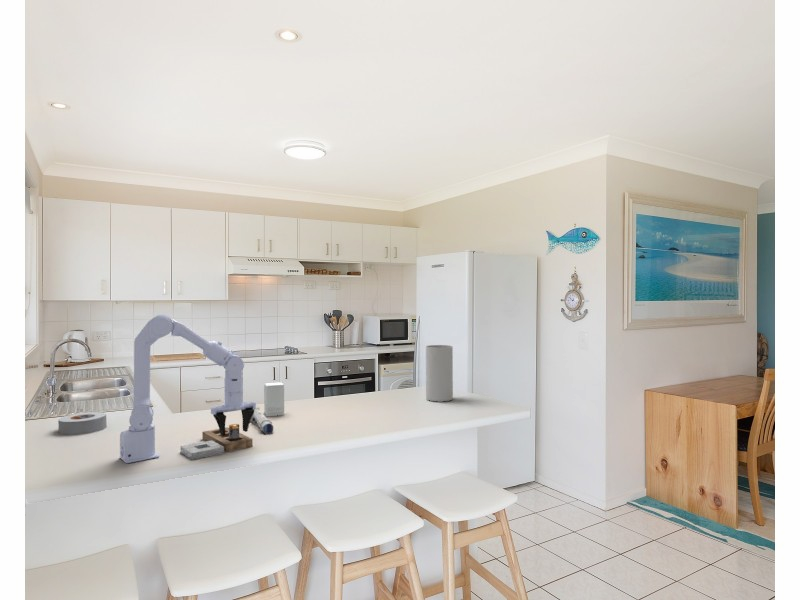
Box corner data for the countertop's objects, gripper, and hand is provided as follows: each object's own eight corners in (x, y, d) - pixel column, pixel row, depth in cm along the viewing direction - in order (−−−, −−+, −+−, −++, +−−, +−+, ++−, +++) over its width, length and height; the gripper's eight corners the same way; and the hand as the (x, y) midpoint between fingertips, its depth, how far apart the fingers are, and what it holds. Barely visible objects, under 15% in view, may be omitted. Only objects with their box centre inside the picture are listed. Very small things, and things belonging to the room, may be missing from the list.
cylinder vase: (439, 403, 240) (439, 348, 239) (420, 399, 249) (420, 346, 249) (458, 399, 248) (458, 346, 248) (438, 395, 257) (438, 344, 257)
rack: (225, 451, 168) (225, 443, 168) (202, 438, 183) (202, 431, 183) (252, 446, 174) (252, 438, 174) (227, 434, 189) (227, 427, 189)
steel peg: (231, 448, 171) (231, 426, 171) (227, 446, 174) (227, 425, 174) (241, 446, 174) (240, 425, 173) (236, 444, 176) (236, 423, 176)
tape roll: (50, 436, 188) (50, 422, 188) (68, 426, 203) (68, 412, 203) (98, 434, 191) (97, 420, 191) (112, 424, 206) (112, 411, 206)
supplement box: (284, 415, 218) (284, 384, 218) (266, 416, 216) (266, 385, 215) (281, 411, 225) (281, 381, 225) (263, 413, 222) (263, 383, 222)
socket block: (191, 459, 160) (191, 453, 160) (180, 452, 167) (180, 446, 167) (224, 453, 166) (224, 446, 166) (211, 446, 174) (211, 440, 174)
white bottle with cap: (261, 424, 188) (246, 402, 210) (260, 442, 189) (245, 418, 211) (275, 422, 191) (259, 400, 213) (275, 440, 192) (259, 416, 214)
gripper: (216, 396, 166) (217, 439, 166) (259, 390, 175) (260, 431, 175) (208, 393, 171) (208, 435, 171) (250, 387, 181) (250, 427, 181)
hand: (234, 433), depth 174 cm, fingers open, 7 cm apart
